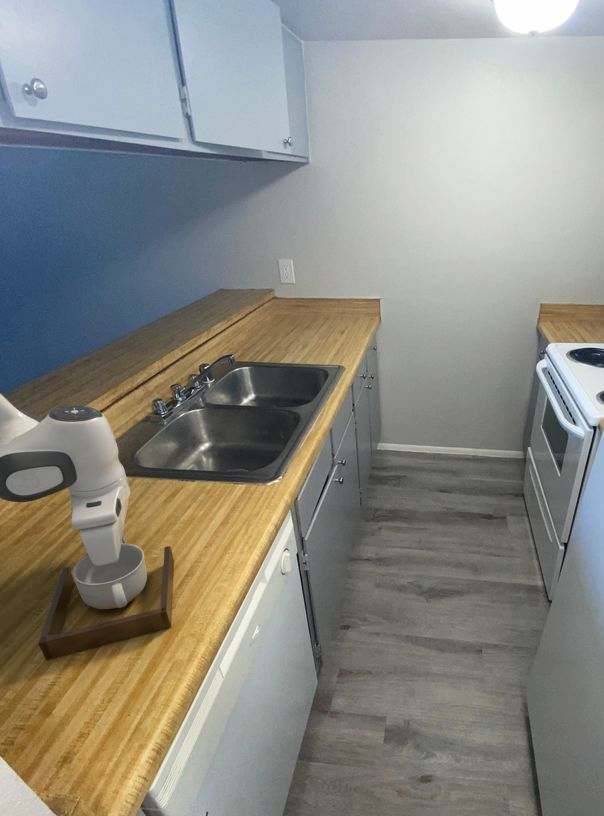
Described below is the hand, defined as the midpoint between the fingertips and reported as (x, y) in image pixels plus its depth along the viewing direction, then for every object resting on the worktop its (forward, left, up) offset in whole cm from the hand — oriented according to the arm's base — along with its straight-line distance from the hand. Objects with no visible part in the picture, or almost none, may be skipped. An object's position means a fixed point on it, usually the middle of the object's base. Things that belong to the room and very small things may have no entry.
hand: (120, 549), depth 91 cm
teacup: (0, -9, -5) cm, 10 cm away
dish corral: (0, -10, -4) cm, 11 cm away
